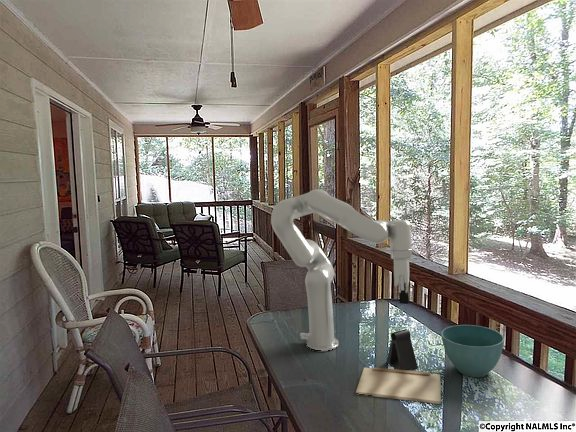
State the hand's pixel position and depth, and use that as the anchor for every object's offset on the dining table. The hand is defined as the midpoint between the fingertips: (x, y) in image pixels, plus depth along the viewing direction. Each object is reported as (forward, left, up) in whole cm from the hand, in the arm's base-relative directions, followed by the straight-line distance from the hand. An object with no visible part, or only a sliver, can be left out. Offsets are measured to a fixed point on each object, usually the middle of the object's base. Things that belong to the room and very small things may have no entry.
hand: (404, 302), depth 150 cm
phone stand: (-1, -13, -18) cm, 22 cm away
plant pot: (+22, -13, -18) cm, 31 cm away
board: (0, -27, -18) cm, 32 cm away
